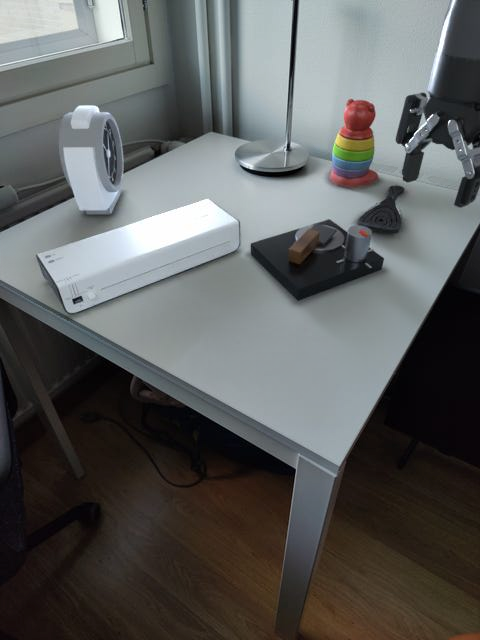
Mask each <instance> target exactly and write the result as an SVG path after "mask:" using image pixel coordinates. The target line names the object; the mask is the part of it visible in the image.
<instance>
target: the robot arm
mask: <svg viewBox="0 0 480 640" xmlns="http://www.w3.org/2000/svg"><path fill="white" fill-rule="evenodd" d="M446 9H447V10H446V12H445V15H444V18H443V21H442V24H441V27H440V28H441V29H440V33H439V37H438V40H437V41H438V42H437V45H436V50H435V54H434V59H433V63H432V68H431V72H430V77H429V81H428V85H427V93H428V94H429V96H427V93H426V92H418V93H413V94H409V95H407V96H406V97H405V98H404V99H405V100H404V104H403V107H402V111H401V114H400V120H399V122H398V127H397V131H396V135H395V143H396V145H397V144H398V145H401V146H403V148H404V152H405V156H404V161H403V165H402V170H401V175H402V181H403V182H405V183H406V184H407V183H412V182H415V181H417V180H418V178H419V176H420V172H421V167H422V164H423V160H424V156H425V152H424V150H425V148H427V147H428V146H429V145H430V144H431V143H433V144H435V145H443V146H444V147H445V148H446V149H449V150H451V151H454V150H455V154H456V158H457V160H458V161H459V162H461V165H462V169H463V173H464V176H462V177H461V181H460V183H459V186H458V189H457V193H456V197H455V200H454V203H453V205H454V206H455V207H457V208H460V209H461V208H464V207H467V206H469V205H471V204H472V203H474V201H476V199H477V196H478V193H479V190H480V0H449V3H448V7H447V8H446ZM423 115H424V120H425V123H424V124H423V125H422V126H421V127H420V125H421V120H422V117H423ZM470 145H471V146H472V149H470V148H469V146H470Z"/></svg>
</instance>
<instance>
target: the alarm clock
mask: <svg viewBox="0 0 480 640" xmlns="http://www.w3.org/2000/svg"><path fill="white" fill-rule="evenodd" d="M58 128H59V129H58V151H59V159H60V164H61V169H62V172H63V175H64V177H65V179H66V182H67V184H68V186H69V187H70V188H71V190H72V193H73V196H74V199H75V202H76V204H77V207H78V210H79V211H85V213H86V215H112V213H113V212H114V209H115V207H116V204H117V202H118V201H119V198H120V196H121V194H122V188H121V186H122V184H123V178H124V167H125V166H124V163H125V162H124V149H123V143H122V137H121V133H120V129H119V126H118V123H117V121H116V119H115V117H114V116H113V115H112V114H111V113H110V112H107V111H100V109H99V107H98V106H96V105H78V106H77V107H76V108H75V109H74V111H73V112H67V113H66V114H64V115H63V117H62V119H61V120H60V124H59V127H58Z"/></svg>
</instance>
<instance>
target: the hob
mask: <svg viewBox="0 0 480 640" xmlns="http://www.w3.org/2000/svg"><path fill="white" fill-rule="evenodd" d="M316 223H317V224H320V225H327V226H331V227H333V228H336V229H338V230H339V231H340V232H341V233H342V234H343V235H344V243H343V244H342V245H341V247H339V248H337V249H335V250H332V251H326V252H318V251H312V252H311V253H310V254H309V255H308V256H307V257H306V258H305V259H304V261H303V262H302V263H301V264H297V263H294V262H291V261H289V249H290V247H291V246H292V245H293V244H294V243H295V242H296V233H297V231H298V230H299V229H301V228H303V227H304V226H303V227H299V228H296V229H292V230H290V231H286V232H284V233H280V234H277V235H273V236H270V237H267V238H263V239H261V240H257V241H253V242H251V243H250V255H251V256H252V258H254V259H255V260H256V261H257V262H258V264H260V265H261V267H263V268H264V269H265V270H266V271H267V273H269V274H270V276H272V277H273V278H274V280H276V281H277V282H278V283H279V284H280V285H281V287H283V288H284V289H285V290H286V291H287V292H288V293H289V294H290V295H291V296H292V297H293V298H294V299H295V300H296V301H297V302H299V301H301V300H304V299H307V298H310V297H313V296H315V295H318V294H321V293H324V292H326V291H329V290H332V289H334V288H337V287H339V286H343V285H345V284H348V283H350V282H353V281H356V280H358V279H362V278H364V277H367V276H369V275H372V274H374V273H377V272H379V271H382V270H383V266H384V261H385V258H384V257H383V256H382V255H380V254H379V253H378V252H376V251H375V249H374V248H371V247H369V250H368V255H367V259H366V260H365V261H363V262H351V261H349V260H347V259H346V258H345V257H344V252H345V246H346V239H347V233H348V230H347V231H346V230H345V229H344V228H343V227H341V226H340V225H339V224H337V223H336V222H334V221H333V220H332V219H330V218H329V219H325V220H323V221H319V222H316ZM314 224H315V223H311V225H314Z"/></svg>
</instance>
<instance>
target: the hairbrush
mask: <svg viewBox="0 0 480 640" xmlns="http://www.w3.org/2000/svg"><path fill="white" fill-rule="evenodd" d="M405 189H406V188H405V187H404V186H402V185H395V184H394V185H390V186H389V187H388V193H387V195H386V197H385V198H384V199H382V200H381V201H380V202H379V204H378V202H377V203H375V204H374V206H372V207H371V208H368V210H366V211H365V212H364V213H363V214H362V215H361V216H360V217H359V218H358V220H357V223H356V226H365V227H367V228H369V229H370V230H371V231H372V232H377V233H384V234H389V235H390V234H398V232H399V231H400V229H401V226H402V219H403V216H402V212H401V211H402V210H401V209H400V207H398V208H397V206H398V203H396V201H397V199H398V198H399V197H400V196H402V195H403V194H404V193H405Z"/></svg>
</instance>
